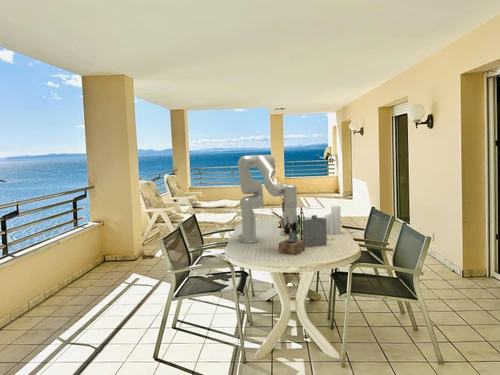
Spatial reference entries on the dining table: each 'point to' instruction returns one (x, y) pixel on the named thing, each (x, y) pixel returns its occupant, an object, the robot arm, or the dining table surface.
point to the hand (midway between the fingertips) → (290, 232)
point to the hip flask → (315, 231)
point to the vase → (334, 221)
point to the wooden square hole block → (291, 247)
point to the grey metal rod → (291, 237)
